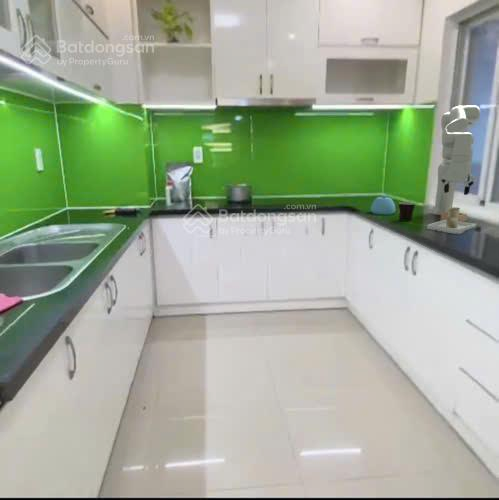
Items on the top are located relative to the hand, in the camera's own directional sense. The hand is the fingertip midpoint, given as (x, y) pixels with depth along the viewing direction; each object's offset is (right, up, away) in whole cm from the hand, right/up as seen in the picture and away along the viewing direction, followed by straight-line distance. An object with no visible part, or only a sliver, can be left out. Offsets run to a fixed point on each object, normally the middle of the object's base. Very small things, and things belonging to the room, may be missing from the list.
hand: (455, 193), depth 195 cm
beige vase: (0, -17, +4) cm, 17 cm away
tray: (0, -18, +5) cm, 18 cm away
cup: (+9, -13, +20) cm, 26 cm away
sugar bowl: (-20, -5, +51) cm, 55 cm away
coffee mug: (-16, -12, +26) cm, 33 cm away
